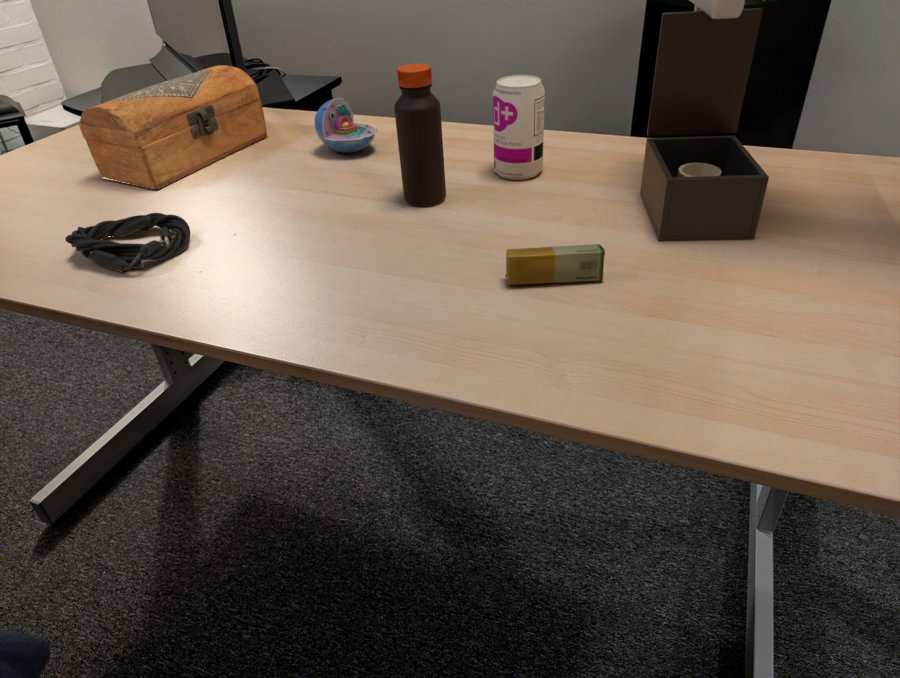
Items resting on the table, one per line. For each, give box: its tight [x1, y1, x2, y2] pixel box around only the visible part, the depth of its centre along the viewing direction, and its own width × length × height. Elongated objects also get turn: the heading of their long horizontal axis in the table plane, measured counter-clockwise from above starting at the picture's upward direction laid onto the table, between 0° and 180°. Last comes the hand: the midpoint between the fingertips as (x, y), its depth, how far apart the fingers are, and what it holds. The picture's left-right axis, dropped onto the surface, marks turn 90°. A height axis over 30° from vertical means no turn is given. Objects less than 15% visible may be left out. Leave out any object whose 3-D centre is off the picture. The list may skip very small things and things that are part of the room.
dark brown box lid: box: [646, 7, 764, 137], centre depth 90 cm, size 16×13×1 cm
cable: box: [64, 212, 191, 272], centre depth 95 cm, size 17×14×4 cm
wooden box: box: [78, 64, 268, 190], centre depth 123 cm, size 30×16×14 cm, turn 150°
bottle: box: [393, 63, 447, 207], centre depth 99 cm, size 7×7×20 cm
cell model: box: [313, 97, 378, 154], centre depth 122 cm, size 10×12×10 cm
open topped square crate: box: [639, 135, 770, 242], centre depth 92 cm, size 16×13×9 cm
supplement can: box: [492, 74, 546, 181], centre depth 107 cm, size 8×8×15 cm
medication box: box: [504, 243, 606, 286], centre depth 81 cm, size 12×3×4 cm, turn 92°
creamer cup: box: [677, 163, 722, 177], centre depth 92 cm, size 6×6×6 cm
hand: (701, 42), depth 90 cm, fingers closed
